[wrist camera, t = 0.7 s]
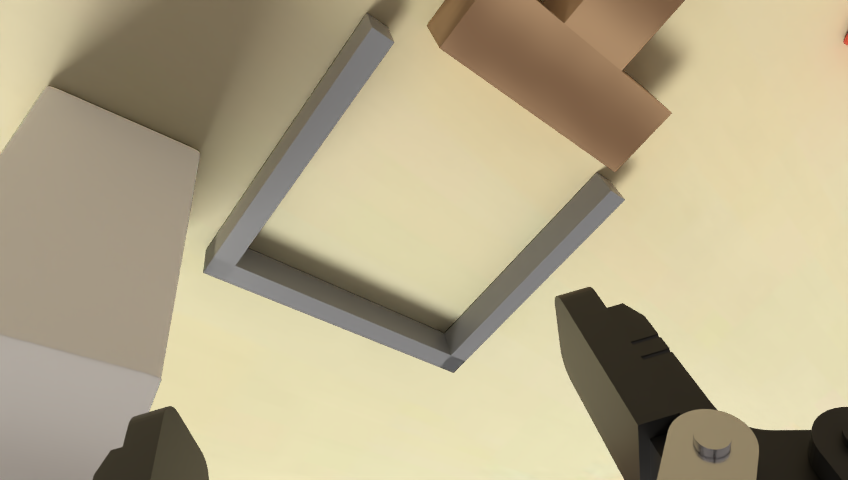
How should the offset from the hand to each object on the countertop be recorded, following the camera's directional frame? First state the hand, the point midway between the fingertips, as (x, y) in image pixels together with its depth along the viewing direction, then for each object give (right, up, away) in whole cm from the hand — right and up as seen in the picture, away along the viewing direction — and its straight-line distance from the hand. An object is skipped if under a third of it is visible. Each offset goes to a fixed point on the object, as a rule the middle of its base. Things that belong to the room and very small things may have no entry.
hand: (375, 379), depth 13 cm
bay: (+1, +5, +23) cm, 24 cm away
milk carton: (-15, +6, +19) cm, 25 cm away
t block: (+9, +15, +18) cm, 25 cm away
